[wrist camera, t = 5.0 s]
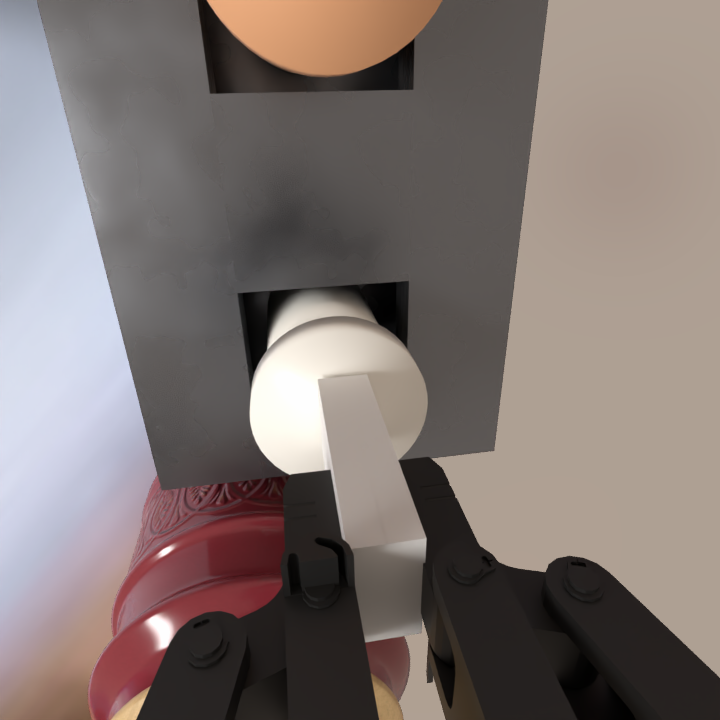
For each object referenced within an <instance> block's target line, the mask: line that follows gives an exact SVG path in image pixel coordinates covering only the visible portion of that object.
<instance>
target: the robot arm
mask: <svg viewBox="0 0 720 720" xmlns="http://www.w3.org/2000/svg"><path fill="white" fill-rule="evenodd" d="M317 380H318V395H319V409H320V424H321V439H322V453H323V460H324V467H325V470H322V471H314V472H306V473H297V474H291V475H290V477H289V479H288V480H287V482H286V484H285V486H284V488H283V507H284V540H285V551H284V553H283V554H282V559H281V564H280V568H281V576H282V583H283V585H282V587H281V589H280V590H279V592H278V593H277V595H276V596H275V597H274V598H273V599H272V600H271V601H270V602H269V603H267V604H266V605H265V606H263V607H261V608H259V609H258V610H256V611H254V612H252V613H249V614H247V615H245V616H243V617H241V618H239V619H238V618H237V617H236V616H235V615H233V614H231V613H227V612H223V611H214V612H205V613H203V614H201V615H199V616H196V617H194V618H192V619H190V620H189V621H188V622H187V623H186V624H184V625H183V626H182V627H181V628H180V629H179V630H178V631H177V632H176V634H175V636H174V637H173V639H172V640H171V642H170V643H169V646H168V648H167V650H166V652H165V655H164V657H163V659H162V662H161V664H160V666H159V668H158V671H157V673H156V675H155V678H154V680H153V682H152V684H151V687H150V689H149V691H148V694H147V696H146V698H145V700H144V703H143V705H142V707H141V710H140V712H139V714H138V716H137V719H136V720H379V716H378V710H377V705H376V699H375V694H374V688H373V683H372V677H371V672H370V666H369V661H368V655H367V649H366V644H365V642H371V641H377V640H383V639H389V638H395V637H401V636H407V635H413V634H419V633H421V632H422V618H423V622H424V625H425V628H426V631H427V635H428V638H429V640H428V655H427V671H426V672H427V683H431V682H433V676H434V680H435V683H436V687H437V690H438V694H439V697H440V701H441V704H442V708H443V712H444V715H445V719H446V720H720V678H719V677H718V676H717V675H716V674H715V673H714V672H713V671H712V670H711V669H710V668H709V667H708V666H706V664H705V663H703V661H702V660H700V659H699V658H698V657H697V656H696V655H695V654H694V653H693V652H692V651H691V650H690V649H689V648H688V647H687V646H686V645H685V644H683V642H682V641H681V640H680V639H679V638H677V637H676V636H675V635H674V634H673V633H672V632H671V631H670V630H669V629H668V628H667V627H666V626H665V625H664V624H663V623H662V622H660V620H659V619H657V618H656V617H655V616H654V615H653V614H652V613H651V612H650V611H649V610H648V609H647V608H646V607H645V606H644V605H643V604H642V603H641V602H640V601H639V600H638V599H636V598H635V597H634V596H633V595H632V594H631V593H630V592H629V591H628V590H627V589H626V588H625V587H624V586H623V585H622V584H621V583H620V582H619V581H618V580H617V579H616V578H615V577H614V576H612V575H611V574H610V573H609V572H608V571H607V570H605V569H604V568H602V567H601V566H600V565H598V564H597V563H594V562H592V561H590V560H587V559H585V558H580V557H573V556H567V557H562V558H557V559H556V560H554V561H553V562H552V563H550V564H549V565H548V568H547V570H546V572H539V571H531V570H524V569H517V568H513V567H509V566H506V565H504V564H501V563H499V562H498V561H497V560H496V558H495V557H494V556H493V555H492V554H491V553H490V552H488V551H486V550H485V549H484V548H482V547H480V545H479V544H478V542H477V540H476V538H475V536H474V534H473V532H472V529H471V528H470V525H469V523H468V521H467V519H466V517H465V515H464V513H463V511H462V509H461V506H460V504H459V502H458V500H457V498H455V494H454V492H453V490H452V488H451V486H450V485H449V481H448V479H447V477H446V475H445V473H444V471H443V469H442V468H441V467H440V466H439V465H438V464H437V463H435V462H434V461H433V460H432V459H431V458H430V457H421V458H413V459H404V460H398V458H397V456H396V453H395V450H394V447H393V445H392V442H391V439H390V436H389V434H388V431H387V428H386V425H385V423H384V420H383V417H382V414H381V412H380V409H379V406H378V403H377V400H376V398H375V395H374V392H373V389H372V387H371V384H370V381H369V378H368V376H367V374H365V375H354V376H343V377H333V378H322V379H317Z"/></svg>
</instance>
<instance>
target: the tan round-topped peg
mask: <svg viewBox="0 0 720 720" xmlns="http://www.w3.org/2000/svg"><path fill="white" fill-rule="evenodd" d="M207 1H208V3H209V5H210V6H211V8H212V9H213V11H214V12H215V13H216V15H217V16H218V18H219V19H220V21H221V22H222V23H223V24H224V25H225V26H226V28H227V29H228V30H229V31H230V32H231V33H232V34H233V36H234V37H236V38H237V39H238V40H239V41H240V42H241V43H242V44H243V45H244V46H245V47H247V48H248V49H249V50H250V51H252V52H253V53H255V54H256V55H258V56H259V57H260V58H262V59H263V60H265V61H267V62H268V63H270V64H271V65H273V66H275V67H277V68H279V69H281V70H284V71H287V72H291V73H296V74H301V75H306V76H311V77H335V76H343V75H347V74H351V73H355V72H358V71H361V70H363V69H365V68H368V67H370V66H373V65H375V64H377V63H380V62H382V61H384V60H385V59H387V58H389V57H390V56H392V55H394V54H395V53H397V52H398V51H399V50H401V49H402V48H403V47H404V46H406V45H407V44H408V43H409V42H411V41H412V40H413V39H414V38H415V37H416V35H417V34H418V33H419V32H420V31H421V30H422V29H423V28H424V27H425V26H426V24H427V23H428V22H429V20H430V19H431V18H432V16H433V15H434V14H435V12H436V11H437V9H438V7H439V5H440V4H441V2H442V0H207Z"/></svg>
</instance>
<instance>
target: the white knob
mask: <svg viewBox="0 0 720 720" xmlns="http://www.w3.org/2000/svg"><path fill="white" fill-rule="evenodd" d="M365 374H367V376H368V378H369V381H370V384H371V387H372V389H373V392H374V395H375V398H376V400H377V403H378V406H379V409H380V412H381V414H382V417H383V420H384V423H385V425H386V428H387V431H388V434H389V436H390V439H391V442H392V445H393V447H394V450H395V453H396V456H397V458H398V460H399V459H400V458H401V457H402V456H403V455H404V454H405V453H406V452H407V451H408V450H409V449H410V448H411V446H412V445H413V444H414V442H415V441H416V439H417V437H418V436H419V434H420V432H421V430H422V427H423V425H424V422H425V418H426V414H427V406H428V399H427V390H426V385H425V382H424V379H423V376H422V374H421V372H420V370H419V368H418V367H417V365H416V363H415V361H414V360H413V358H412V356H411V354H410V353H409V351H408V349H407V348H406V347H405V345H404V344H403V343H402V342H401V341H400V340H399V339H398V338H397V337H396V336H395V335H394V334H393V333H391V332H390V331H389V330H387V329H386V328H384V327H382V326H380V325H378V323H377V321H376V319H375V317H374V315H373V313H372V311H371V309H370V307H369V305H368V303H367V301H366V299H365V297H364V295H363V293H362V291H361V289H360V287H359V285H344V286H330V287H316V288H302V289H288V290H274V291H271V293H270V296H269V300H268V307H267V351H266V352H265V354H264V355H263V357H262V358H261V360H260V362H259V363H258V366H257V368H256V370H255V373H254V377H253V381H252V387H251V399H250V424H251V429H252V433H253V436H254V438H255V441H256V443H257V445H258V446H259V448H260V450H261V451H262V452H263V454H264V455H265V456H266V457H267V459H268V460H270V461H271V462H272V463H273V464H274V465H275V466H276V467H278V468H279V469H281V470H282V471H284V472H285V473H287V474H289V475H291V474H297V473H306V472H314V471H322V470H325V467H324V460H323V453H322V439H321V424H320V409H319V395H318V380H317V379H322V378H333V377H343V376H354V375H365Z"/></svg>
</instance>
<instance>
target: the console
mask: <svg viewBox="0 0 720 720" xmlns="http://www.w3.org/2000/svg"><path fill="white" fill-rule="evenodd" d="M37 3H38V7H39V11H40V15H41V19H42V23H43V27H44V30H45V34H46V38H47V42H48V46H49V50H50V54H51V58H52V62H53V66H54V70H55V74H56V78H57V82H58V85H59V89H60V93H61V97H62V101H63V105H64V109H65V113H66V117H67V121H68V125H69V129H70V133H71V137H72V141H73V144H74V148H75V152H76V156H77V160H78V164H79V168H80V172H81V176H82V180H83V184H84V188H85V192H86V196H87V199H88V203H89V207H90V211H91V215H92V219H93V223H94V227H95V231H96V235H97V239H98V243H99V247H100V251H101V254H102V258H103V262H104V266H105V270H106V274H107V278H108V282H109V286H110V290H111V294H112V298H113V302H114V306H115V310H116V313H117V317H118V321H119V325H120V329H121V333H122V337H123V341H124V345H125V349H126V353H127V357H128V361H129V365H130V368H131V372H132V376H133V380H134V384H135V388H136V392H137V396H138V400H139V404H140V408H141V412H142V416H143V420H144V423H145V427H146V431H147V435H148V439H149V443H150V447H151V451H152V455H153V459H154V463H155V467H156V471H157V475H158V479H159V482H160V486H161V490H171V489H179V488H187V487H196V486H204V485H212V484H221V483H229V482H237V481H246V480H254V479H263V478H271V477H279V476H288V475H289V474H287V473H285V472H284V471H282V470H281V469H279V468H278V467H276V466H275V465H274V464H273V463H272V462H271V461H270V460H268V459H267V457H266V456H265V455H264V454H263V452H262V451H261V450H260V448H259V446H258V445H257V443H256V441H255V438H254V436H253V433H252V429H251V424H250V399H251V387H252V381H253V377H254V373H255V370H256V368H257V366H258V363H259V362H260V360H261V358H262V357H263V355H264V354H265V352H266V351H267V307H268V300H269V296H270V293H271V291H274V290H288V289H302V288H316V287H330V286H344V285H359V287H360V289H361V291H362V293H363V295H364V297H365V299H366V301H367V303H368V305H369V307H370V309H371V311H372V313H373V315H374V317H375V319H376V321H377V323H378V325H380V326H382V327H384V328H386V329H387V330H389V331H390V332H391V333H393V334H394V335H395V336H396V337H397V338H398V339H399V340H400V341H401V342H402V343H403V344H404V345H405V347H406V348H407V349H408V351H409V353H410V354H411V356H412V358H413V360H414V361H415V363H416V365H417V367H418V368H419V370H420V372H421V374H422V376H423V379H424V382H425V385H426V390H427V399H428V406H427V414H426V418H425V422H424V425H423V427H422V430H421V432H420V434H419V436H418V437H417V439H416V441H415V442H414V444H413V445H412V446H411V448H410V449H409V450H408V451H407V452H406V453H405V454H404V455H403V456H402V457H401V458H400V459H399V460H404V459H413V458H421V457H430V458H438V457H446V456H455V455H462V454H470V453H479V452H488V451H494V447H495V439H496V431H497V422H498V413H499V405H500V397H501V388H502V381H503V372H504V364H505V356H506V347H507V339H508V330H509V322H510V314H511V306H512V297H513V289H514V280H515V272H516V264H517V256H518V247H519V239H520V231H521V223H522V214H523V206H524V198H525V188H526V181H527V173H528V164H529V155H530V148H531V139H532V131H533V123H534V114H535V106H536V98H537V89H538V81H539V73H540V64H541V56H542V48H543V40H544V31H545V23H546V14H547V6H548V0H442V2H441V4H440V5H439V7H438V9H437V11H436V12H435V14H434V15H433V16H432V18H431V19H430V20H429V22H428V23H427V24H426V26H425V27H424V28H423V29H422V30H421V31H420V32H419V33H418V34H417V35H416V37H415V38H414V39H413V40H412V41H411V42H409V43H408V44H407V45H406V46H404V47H403V48H402V49H401V50H399V51H398V52H397V53H395V54H394V55H392V56H390V57H389V58H387V59H385V60H384V61H382V62H380V63H377V64H375V65H373V66H370V67H368V68H365V69H363V70H361V71H358V72H355V73H351V74H347V75H343V76H335V77H311V76H306V75H301V74H296V73H291V72H287V71H284V70H281V69H279V68H277V67H275V66H273V65H271V64H270V63H268V62H267V61H265V60H263V59H262V58H260V57H259V56H258V55H256V54H255V53H253V52H252V51H250V50H249V49H248V48H247V47H245V46H244V45H243V44H242V43H241V42H240V41H239V40H238V39H237V38H236V37H234V36H233V34H232V33H231V32H230V31H229V30H228V29H227V28H226V26H225V25H224V24H223V23H222V22H221V21H220V19H219V18H218V16H217V15H216V13H215V12H214V11H213V9H212V8H211V6H210V5H209V3H208V1H207V0H37Z"/></svg>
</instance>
